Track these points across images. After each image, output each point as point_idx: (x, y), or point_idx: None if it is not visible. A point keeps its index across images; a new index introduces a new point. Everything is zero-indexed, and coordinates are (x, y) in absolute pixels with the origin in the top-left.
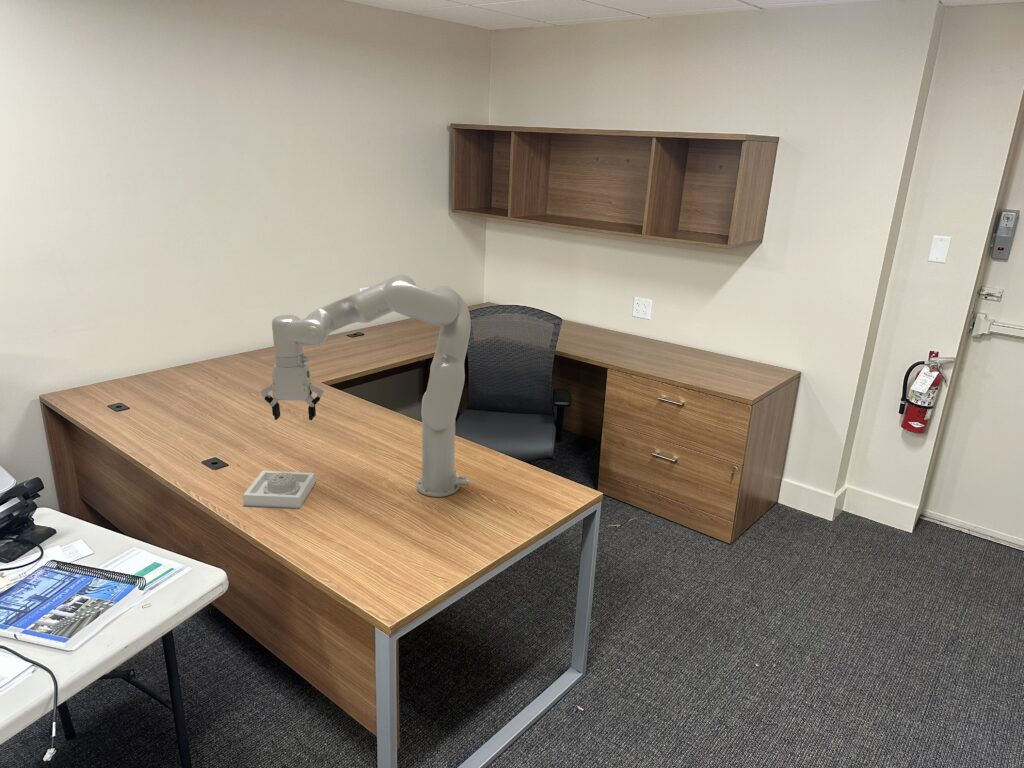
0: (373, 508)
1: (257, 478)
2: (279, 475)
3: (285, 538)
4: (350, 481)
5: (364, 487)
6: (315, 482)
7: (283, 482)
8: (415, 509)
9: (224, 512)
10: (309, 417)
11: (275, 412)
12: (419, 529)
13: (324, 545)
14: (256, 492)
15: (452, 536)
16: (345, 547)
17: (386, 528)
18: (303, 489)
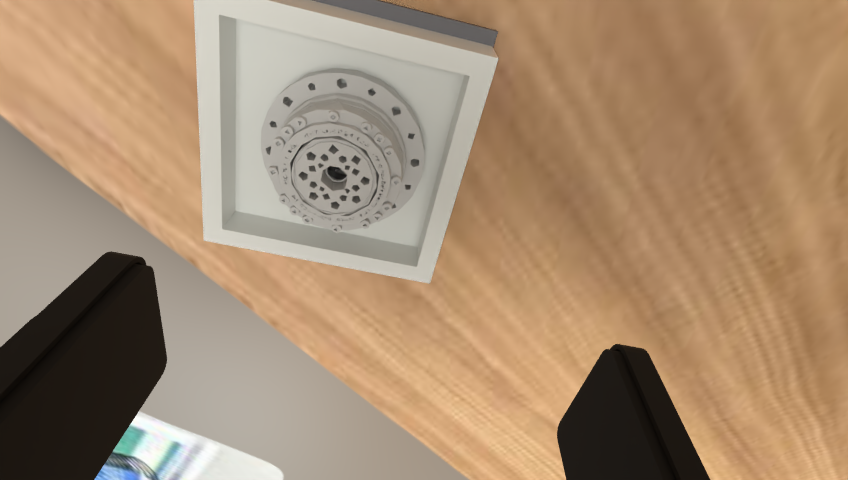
0: (682, 278)
1: (203, 89)
2: (320, 155)
3: (402, 383)
4: (668, 35)
5: (712, 112)
6: (493, 41)
7: (354, 223)
8: (817, 300)
9: (171, 242)
10: (570, 467)
11: (92, 465)
12: (763, 389)
13: (501, 416)
14: (236, 143)
15: (827, 421)
16: (550, 427)
17: (677, 376)
18: (444, 226)
